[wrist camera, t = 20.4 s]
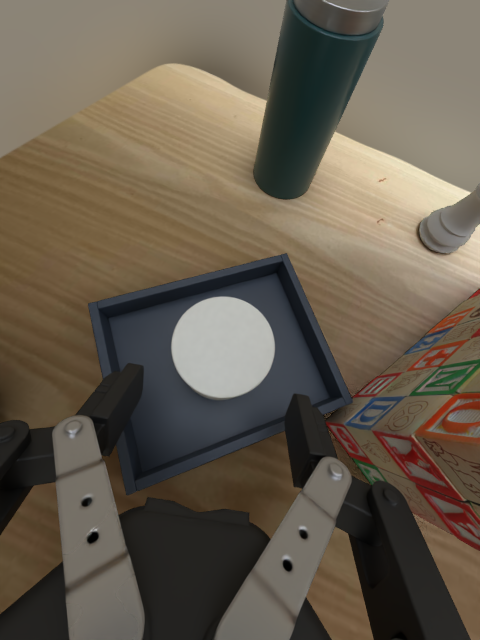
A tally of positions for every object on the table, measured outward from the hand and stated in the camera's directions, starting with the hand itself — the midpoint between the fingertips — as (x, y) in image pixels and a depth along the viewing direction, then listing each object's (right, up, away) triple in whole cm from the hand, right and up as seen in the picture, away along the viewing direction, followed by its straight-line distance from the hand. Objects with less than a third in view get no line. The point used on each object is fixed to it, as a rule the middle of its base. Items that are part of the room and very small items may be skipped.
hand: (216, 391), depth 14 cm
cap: (0, +1, +6) cm, 6 cm away
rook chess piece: (+21, +12, +13) cm, 28 cm away
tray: (0, +1, +6) cm, 6 cm away
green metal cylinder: (+6, +19, +13) cm, 23 cm away
